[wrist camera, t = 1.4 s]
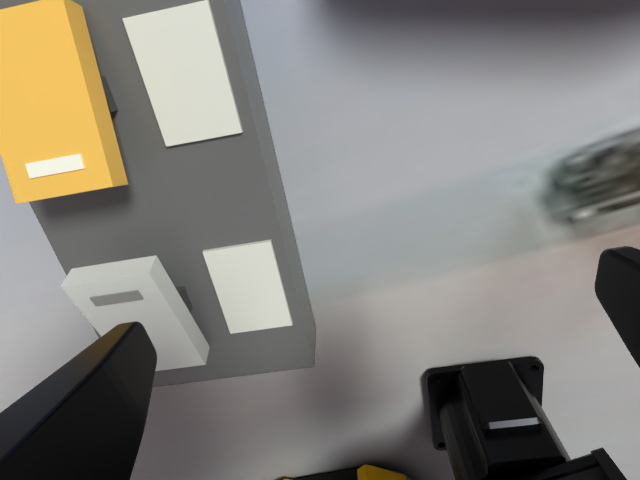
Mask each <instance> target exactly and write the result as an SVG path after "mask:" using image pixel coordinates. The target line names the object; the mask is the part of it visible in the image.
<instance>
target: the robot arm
mask: <svg viewBox="0 0 640 480" xmlns="http://www.w3.org/2000/svg"><path fill="white" fill-rule="evenodd" d="M595 292H596V296H597V298H598V300H599V301H600V303H601V305H602V306H603V308H604V310H605V311H606V313H607V315H608V316H609V318H610V320H611V321H612V323H613V325H614V327H615V328H616V330H617V332H618V333H619V335H620V337H621V338H622V340H623V342H624V343H625V345H626V347H627V348H628V350H629V352H630V353H631V355H632V357H633V358H634V360H635V361H636V363H637V364H638V366H639V367H640V250H639V249H636V248H633V247H629V246H624V247H617V248H611V249H606V250H604V251H603V252H602V253H601V255H600V259H599V264H598V269H597V275H596V280H595ZM156 365H157V353H156V350H155V347H154V345H153V343H152V342H151V340H150V338H149V336H148V334H147V332H146V330H145V328H144V326H143V325H142V324H141V323H140V322H137V321H135V322H128V323H122V324H118V325H117V326H115V327H114V328H112V329H111V330H110V331H108V332H107V333H106V334H104V335H103V336H102V337H101V338H99V339H98V340H97V341H95V342H94V343H93V344H91V345H90V346H89V347H87V348H86V349H85V350H83V351H82V352H81V353H79V354H78V355H77V356H75V357H74V358H73V359H71V360H70V361H69V362H67V363H66V364H65V365H63V366H62V367H61V368H59V369H58V370H57V371H55V372H54V373H53V374H51V375H50V376H49V377H47V378H46V379H45V380H44V381H42V382H41V383H40V384H38V385H37V386H36V387H34V388H33V389H32V390H30V391H29V392H28V393H26V394H25V395H24V396H22V397H21V398H20V399H18V400H17V401H16V402H14V403H13V404H12V405H10V406H9V407H8V408H6V409H5V410H4V411H2V412H1V413H0V480H130V477H131V473H132V470H133V467H134V463H135V460H136V457H137V453H138V450H139V447H140V443H141V439H142V436H143V432H144V428H145V423H146V418H147V413H148V408H149V402H150V397H151V392H152V386H153V381H154V376H155V370H156ZM533 365H534V366H533ZM531 366H532V367H531ZM543 373H544V366H543V363H542V362H541V360H540V359H539V358H537V357H525V358H516V359H508V360H500V361H492V362H484V363H475V364H467V365H459V366H451V367H442V368H434V369H430V370H429V371H428V372H427V373H426V383H427V393H428V403H429V413H430V423H431V433H432V442H433V446H434V448H435V449H437V450H447V452H448V455H449V459H450V463H451V466H452V470H453V473H454V477H455V480H627V479H626V478H625V476H624V475H623V474H622V472H621V471H620V470H619V468H618V467H617V466H616V464H615V463H614V462H613V460H612V459H611V458H610V456H609V455H608V454H607V452H606V451H605V450H604V449H603V448H599V449H596V450H593V451H591V454H588V455H585V456H582V457H579V458H575V459H572V460H571V459H570V457H569V455H568V453H567V452H566V450H565V448H564V446H563V445H562V443H561V441H560V439H559V438H558V436H557V434H556V432H555V431H554V429H553V427H552V425H551V423H550V422H549V420H548V418H547V416H546V415H545V413H544V411H543V409H542V408H541V407H542V390H543ZM433 377H437V378H433Z"/></svg>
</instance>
